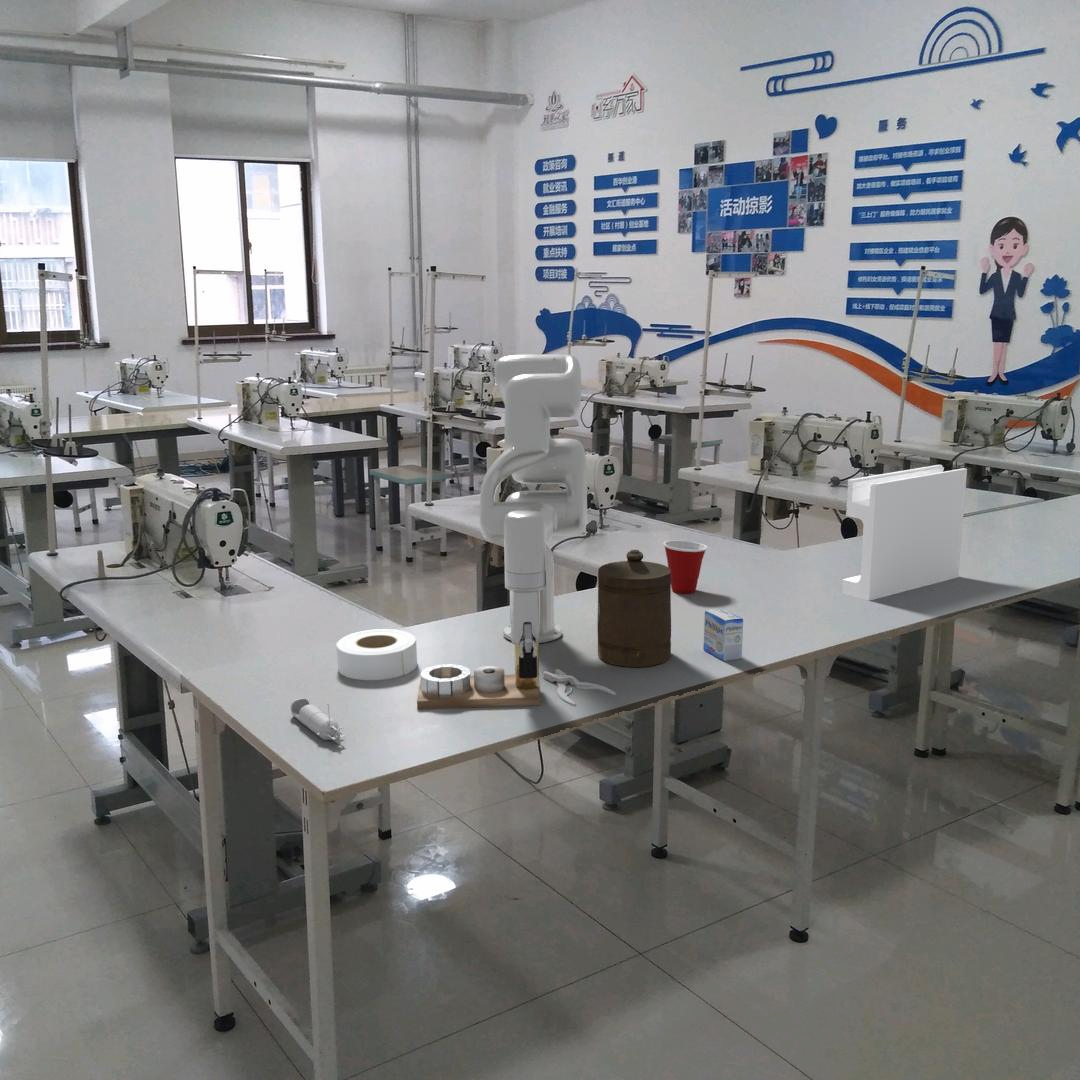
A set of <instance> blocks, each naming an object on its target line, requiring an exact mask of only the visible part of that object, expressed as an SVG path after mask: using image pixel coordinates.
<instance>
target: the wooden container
mask: <svg viewBox="0 0 1080 1080" xmlns="http://www.w3.org/2000/svg"><path fill="white" fill-rule="evenodd" d="M625 556H626V559H627V560H621V561H612V562H609V563H606V564H603V565H601V566H599V568H598V571H597V572H598V574H597V583H598V584H597V585H598V586H597V624H596V625H597V626H596V627H597V656H598V658H599V659H600V660H601V661H603V662H605V663H608V664H611V665H614V666H618V667H624V668H645V667H652V666H653V667H654V666H657V665H661V664H663V663H665V662H667V661H669V659H671V654H672V653H671V652H672V649H671V648H672V641H671V640H672V608H671V607H672V603H671V602H672V600H671V599H672V598H671V597H672V596H671V595H672V593H671V590H672V588H671V571H670V569H669V568H668V565H664V564H661V563H657V562H652V561H643V559H644V553H643V552H642V551H640V550H639V549H631V550H629V551H628V552H627V553H626V555H625Z"/></svg>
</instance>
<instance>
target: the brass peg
mask: <svg viewBox="0 0 1080 1080" xmlns="http://www.w3.org/2000/svg"><path fill="white" fill-rule="evenodd" d="M524 646H525V645H523V647H524ZM539 646H540V643H536V644H535V651H536V656H537V677H536V678H520V677H519V656H520V642H519V643H516V644H514V673H515V686H516V687H517V688H518V689H522V690H531V689H536V688H539V687H540V647H539Z"/></svg>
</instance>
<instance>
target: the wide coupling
mask: <svg viewBox="0 0 1080 1080" xmlns="http://www.w3.org/2000/svg"><path fill="white" fill-rule="evenodd" d="M470 676H471V669H470V668H468V667H466V666H464V665H460V664H455V663H442V664H437V665H433V666H428V667H426V668H424V669H422V670H421V672H420V679H421V691H422V692H423V693H425V694H426V695H429V696H434V697H451V696H452V697H454V696H458V695H462V694H465V693H466V692H468V691H469V690H470V689H471V681H470Z"/></svg>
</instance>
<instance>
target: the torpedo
mask: <svg viewBox="0 0 1080 1080" xmlns="http://www.w3.org/2000/svg"><path fill="white" fill-rule="evenodd" d="M327 708H328V711H327V712H328V713H330V703H328V704H327ZM290 713H291V714H292V716H293V717H294V718H295V719H297V720H298V721H299V722H300V723H301V724H303V725H304V726H305V727H306V728H308V729H309V730H311V732H313V733H314V734H315V735H317V736H318V738H321V739H322V740H324V741H333V742H335V743H337V744H339V745H342V744H341V743H342V741H341V738H343V737H346V735H345V734H344V732H342V731H341V730H343V729H344V727H343V726H342V727H341V726H340V725H339V724H338V721H336V720H334V719H333V718H332V717H331V716H330V715H329V714H327V713H325V712H324V711H323V710H321V708H319V707H317V706H316V705H315V704H310V702H309V700H308V699H306V698H303V697H301V698H296V699H294V700H293V701H292V702H291V703H290Z"/></svg>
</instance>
